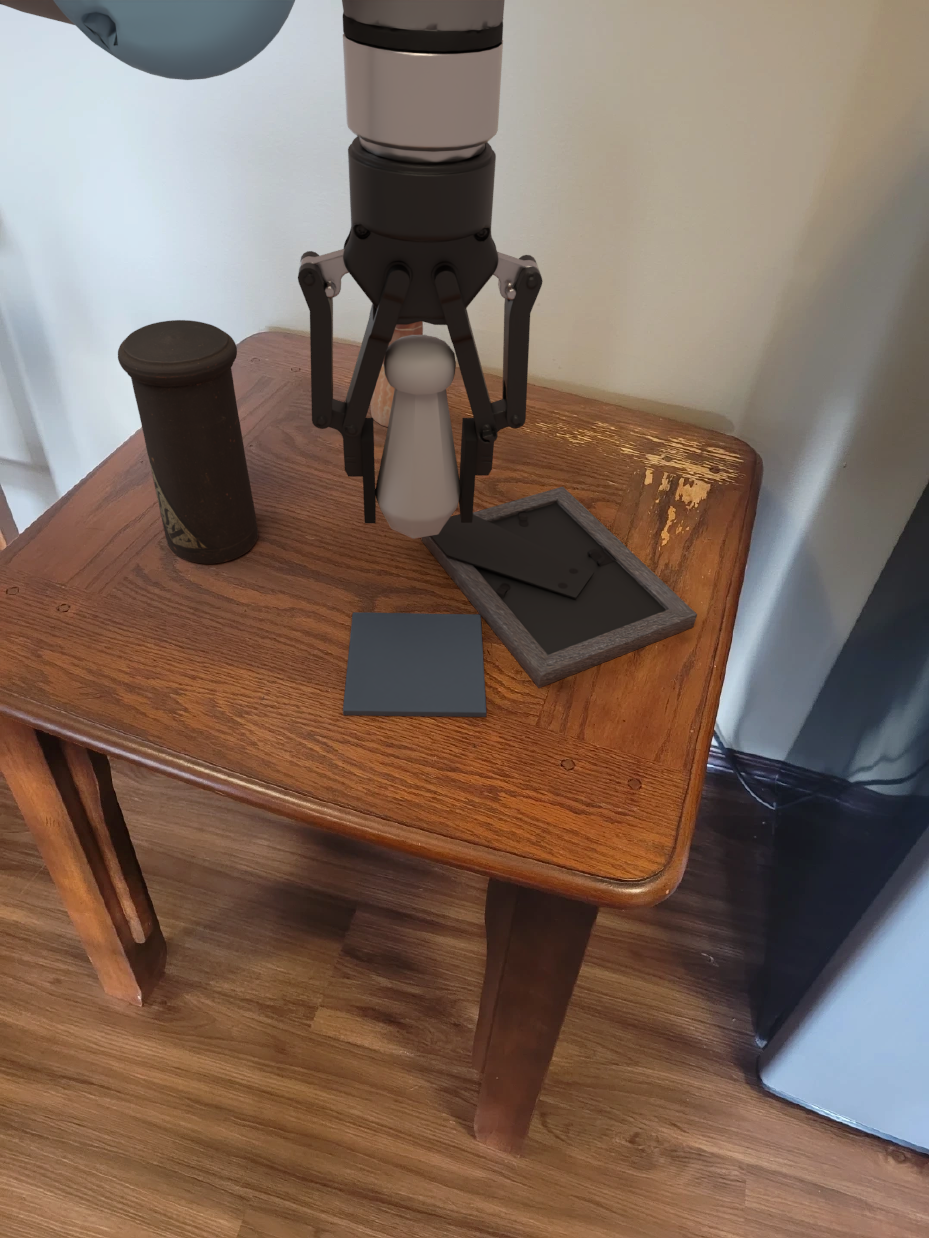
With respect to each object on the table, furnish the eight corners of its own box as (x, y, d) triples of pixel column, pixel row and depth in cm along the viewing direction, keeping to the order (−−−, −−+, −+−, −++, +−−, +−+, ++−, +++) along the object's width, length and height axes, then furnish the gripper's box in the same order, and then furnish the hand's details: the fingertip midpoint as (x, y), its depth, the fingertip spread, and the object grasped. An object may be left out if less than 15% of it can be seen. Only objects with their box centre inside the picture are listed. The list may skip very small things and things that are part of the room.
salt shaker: (427, 557, 56) (431, 378, 47) (359, 526, 58) (350, 348, 50) (474, 514, 60) (486, 340, 51) (408, 486, 62) (409, 315, 53)
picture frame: (421, 540, 81) (538, 688, 68) (421, 523, 80) (541, 671, 67) (560, 499, 87) (693, 627, 74) (563, 482, 86) (698, 610, 73)
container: (184, 505, 83) (141, 306, 70) (274, 516, 83) (248, 317, 69) (148, 560, 77) (93, 353, 63) (245, 572, 76) (210, 367, 63)
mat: (343, 715, 65) (342, 710, 65) (352, 616, 73) (352, 611, 73) (486, 717, 66) (486, 712, 65) (480, 619, 74) (480, 614, 73)
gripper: (592, 124, 46) (544, 479, 62) (239, 113, 45) (283, 480, 61) (621, 167, 41) (560, 543, 57) (221, 156, 39) (275, 547, 55)
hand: (418, 510), depth 59 cm, fingers closed on salt shaker, 6 cm apart
